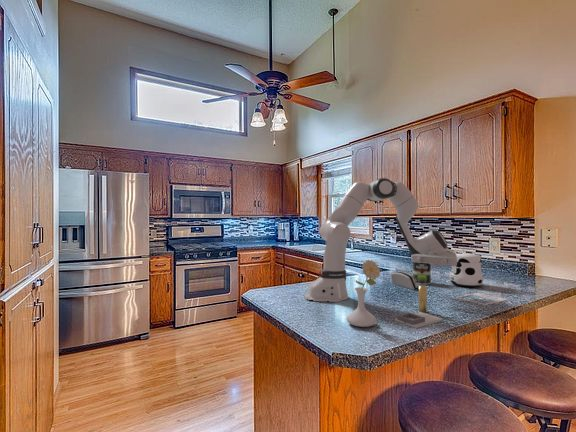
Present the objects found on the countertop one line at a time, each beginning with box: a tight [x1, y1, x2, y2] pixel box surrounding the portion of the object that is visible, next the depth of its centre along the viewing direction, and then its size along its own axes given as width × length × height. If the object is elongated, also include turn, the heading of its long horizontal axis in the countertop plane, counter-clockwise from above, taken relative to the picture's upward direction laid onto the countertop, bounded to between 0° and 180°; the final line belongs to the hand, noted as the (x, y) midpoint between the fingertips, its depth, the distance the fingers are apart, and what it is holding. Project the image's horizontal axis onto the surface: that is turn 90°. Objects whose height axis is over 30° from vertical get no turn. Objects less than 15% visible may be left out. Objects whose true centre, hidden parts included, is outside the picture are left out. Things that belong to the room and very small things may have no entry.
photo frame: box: [455, 292, 508, 306], centre depth 154 cm, size 15×1×18 cm
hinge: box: [390, 270, 420, 291], centre depth 182 cm, size 17×5×10 cm, turn 22°
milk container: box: [449, 253, 484, 288], centre depth 184 cm, size 17×17×18 cm
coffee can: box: [412, 262, 432, 286], centre depth 191 cm, size 10×10×14 cm
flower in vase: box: [345, 259, 381, 328], centre depth 119 cm, size 13×11×25 cm
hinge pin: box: [418, 285, 428, 314], centre depth 134 cm, size 3×3×11 cm
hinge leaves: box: [394, 311, 443, 329], centre depth 123 cm, size 16×10×2 cm, turn 120°
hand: (429, 261), depth 144 cm, fingers open, 8 cm apart
